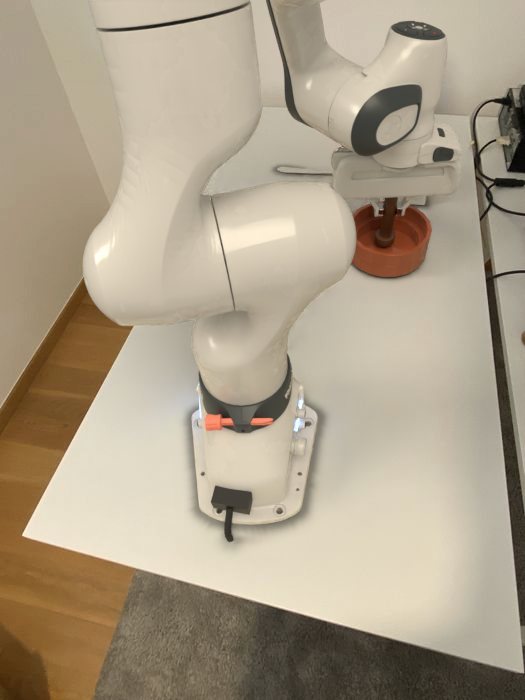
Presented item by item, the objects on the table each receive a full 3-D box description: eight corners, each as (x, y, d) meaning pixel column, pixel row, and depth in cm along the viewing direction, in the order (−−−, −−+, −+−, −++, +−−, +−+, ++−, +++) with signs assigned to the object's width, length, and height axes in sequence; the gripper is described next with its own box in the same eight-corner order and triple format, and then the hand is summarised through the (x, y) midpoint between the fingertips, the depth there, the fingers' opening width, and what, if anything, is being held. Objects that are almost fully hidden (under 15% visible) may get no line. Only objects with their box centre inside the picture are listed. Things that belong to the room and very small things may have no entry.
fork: (279, 165, 112) (278, 157, 110) (388, 178, 106) (389, 171, 104) (275, 173, 110) (274, 166, 108) (385, 187, 104) (387, 180, 103)
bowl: (431, 278, 88) (438, 253, 83) (348, 281, 90) (351, 256, 85) (418, 224, 97) (424, 199, 92) (343, 227, 98) (345, 202, 93)
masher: (395, 246, 91) (406, 189, 81) (375, 247, 92) (383, 190, 81) (393, 233, 93) (403, 175, 83) (373, 233, 94) (381, 176, 84)
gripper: (333, 157, 75) (330, 228, 86) (472, 150, 74) (451, 223, 85) (330, 133, 79) (328, 205, 90) (464, 126, 77) (444, 199, 88)
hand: (388, 214), depth 87 cm, fingers closed on masher, 2 cm apart
